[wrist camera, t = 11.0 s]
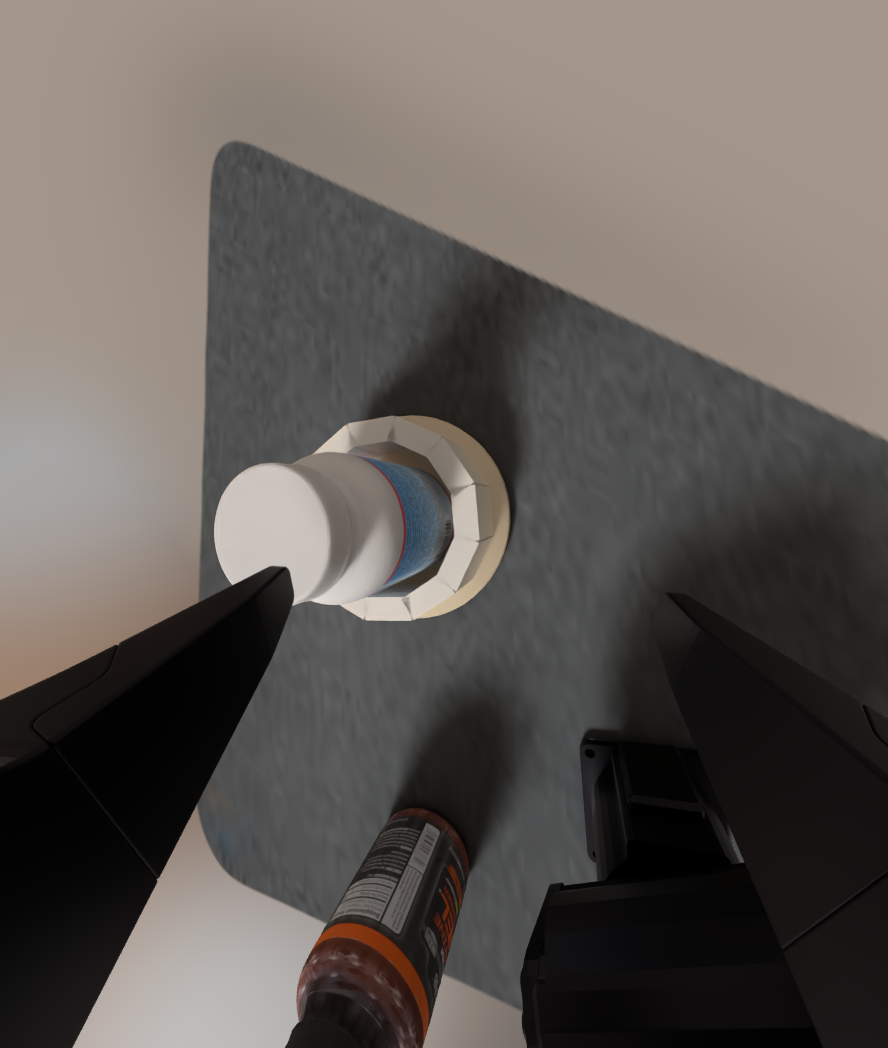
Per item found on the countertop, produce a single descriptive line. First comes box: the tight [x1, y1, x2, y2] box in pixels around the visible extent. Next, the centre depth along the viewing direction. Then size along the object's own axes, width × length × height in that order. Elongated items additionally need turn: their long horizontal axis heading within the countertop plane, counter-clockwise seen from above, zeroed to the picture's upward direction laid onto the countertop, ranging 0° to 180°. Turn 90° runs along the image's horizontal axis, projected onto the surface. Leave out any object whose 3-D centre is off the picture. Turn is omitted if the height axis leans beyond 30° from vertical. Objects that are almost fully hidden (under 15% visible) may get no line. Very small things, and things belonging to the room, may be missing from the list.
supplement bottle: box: [285, 808, 469, 1048], centre depth 19 cm, size 6×6×11 cm
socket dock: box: [314, 415, 511, 621], centre depth 21 cm, size 12×12×4 cm
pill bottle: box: [214, 452, 455, 606], centre depth 17 cm, size 6×6×11 cm
